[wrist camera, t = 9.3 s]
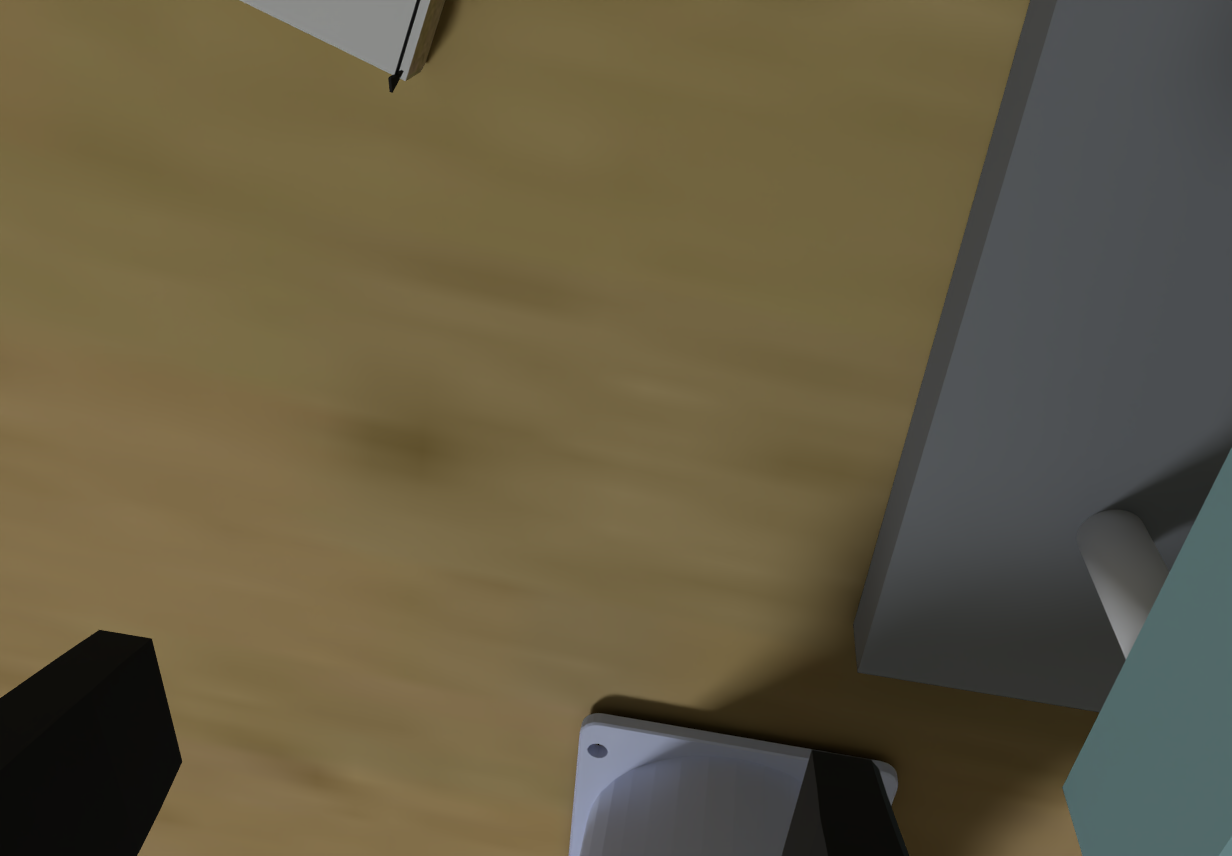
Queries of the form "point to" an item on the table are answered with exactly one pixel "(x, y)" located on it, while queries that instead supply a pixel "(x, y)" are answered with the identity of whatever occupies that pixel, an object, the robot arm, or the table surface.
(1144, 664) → the teal rectangular block
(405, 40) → the white ridged flat slab
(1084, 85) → the peg stand
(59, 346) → the table surface
